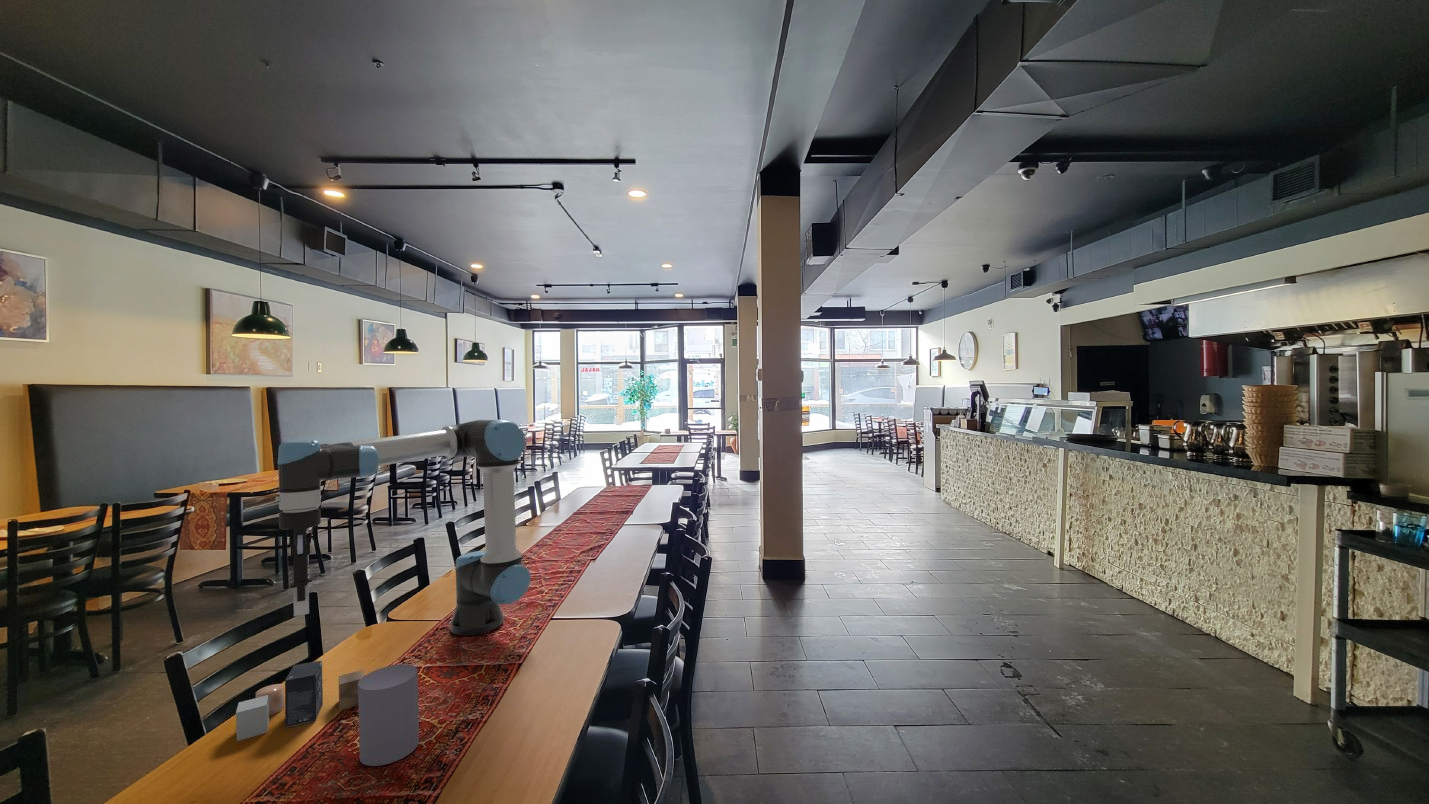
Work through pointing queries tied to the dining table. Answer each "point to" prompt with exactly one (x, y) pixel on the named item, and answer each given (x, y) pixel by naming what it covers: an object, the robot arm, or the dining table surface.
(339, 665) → the dining table surface
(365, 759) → the container
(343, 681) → the walnut block
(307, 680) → the box
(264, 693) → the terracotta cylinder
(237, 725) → the slate block
